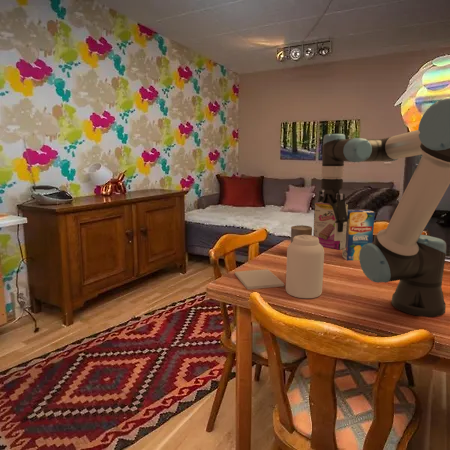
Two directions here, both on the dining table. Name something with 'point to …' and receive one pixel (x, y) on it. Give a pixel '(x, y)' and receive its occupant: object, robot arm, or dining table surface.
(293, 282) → the cream jar
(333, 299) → the dining table surface
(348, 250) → the beverage box
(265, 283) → the grey mat
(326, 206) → the candy bar box
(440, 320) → the dining table surface
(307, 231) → the pillar candle
